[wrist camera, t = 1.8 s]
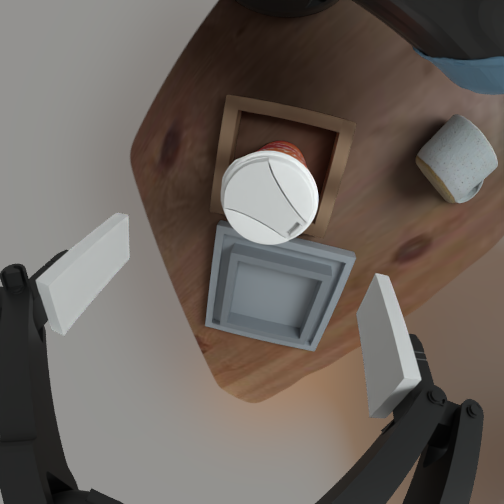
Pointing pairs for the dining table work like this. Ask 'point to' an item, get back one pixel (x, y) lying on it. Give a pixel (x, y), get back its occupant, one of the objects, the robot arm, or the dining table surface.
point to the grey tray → (275, 288)
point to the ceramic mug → (457, 160)
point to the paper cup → (270, 194)
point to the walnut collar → (341, 126)
